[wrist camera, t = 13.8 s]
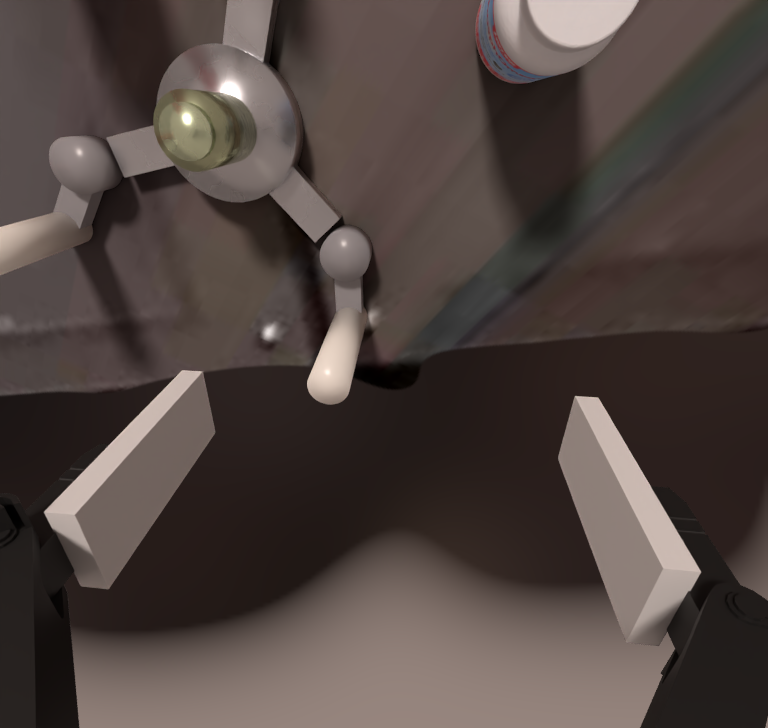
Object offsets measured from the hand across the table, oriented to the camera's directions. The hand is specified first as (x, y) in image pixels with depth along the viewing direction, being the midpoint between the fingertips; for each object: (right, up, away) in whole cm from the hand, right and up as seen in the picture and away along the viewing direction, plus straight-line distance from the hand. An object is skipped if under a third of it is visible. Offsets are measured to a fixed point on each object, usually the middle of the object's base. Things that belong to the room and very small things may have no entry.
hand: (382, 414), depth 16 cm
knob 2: (-3, +9, +19) cm, 21 cm away
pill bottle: (+9, +22, +11) cm, 27 cm away
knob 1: (-22, +15, +17) cm, 32 cm away
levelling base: (-9, +19, +14) cm, 26 cm away
